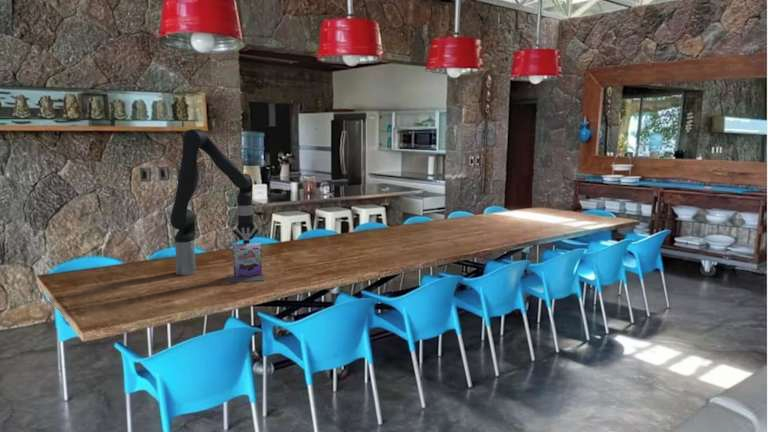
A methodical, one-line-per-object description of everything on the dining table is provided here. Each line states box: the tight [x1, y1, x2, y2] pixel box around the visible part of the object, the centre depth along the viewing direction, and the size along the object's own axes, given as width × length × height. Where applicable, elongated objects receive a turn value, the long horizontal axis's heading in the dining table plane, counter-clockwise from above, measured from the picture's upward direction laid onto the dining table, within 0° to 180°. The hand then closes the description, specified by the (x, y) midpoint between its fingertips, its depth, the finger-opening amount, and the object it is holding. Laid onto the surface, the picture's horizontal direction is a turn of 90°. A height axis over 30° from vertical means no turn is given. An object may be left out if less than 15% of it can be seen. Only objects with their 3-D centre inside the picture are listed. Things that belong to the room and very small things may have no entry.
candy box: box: [232, 242, 263, 277], centre depth 272 cm, size 14×6×16 cm, turn 105°
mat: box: [226, 275, 266, 283], centre depth 268 cm, size 18×8×1 cm, turn 99°
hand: (246, 247), depth 273 cm, fingers closed
